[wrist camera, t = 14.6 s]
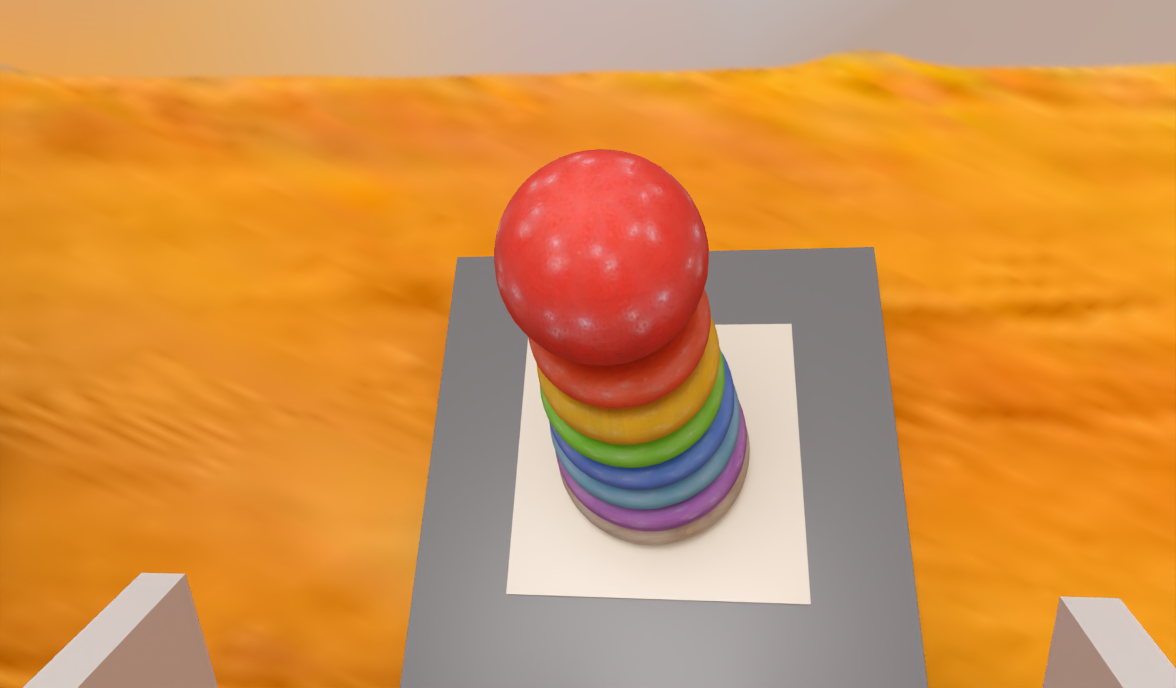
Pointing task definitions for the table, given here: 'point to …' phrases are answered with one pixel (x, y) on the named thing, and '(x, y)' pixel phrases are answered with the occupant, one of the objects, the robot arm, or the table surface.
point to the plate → (700, 563)
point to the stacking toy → (624, 344)
